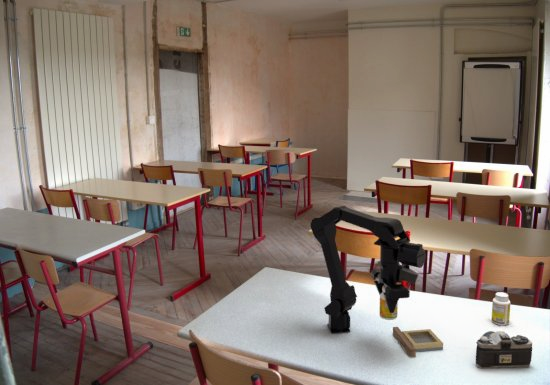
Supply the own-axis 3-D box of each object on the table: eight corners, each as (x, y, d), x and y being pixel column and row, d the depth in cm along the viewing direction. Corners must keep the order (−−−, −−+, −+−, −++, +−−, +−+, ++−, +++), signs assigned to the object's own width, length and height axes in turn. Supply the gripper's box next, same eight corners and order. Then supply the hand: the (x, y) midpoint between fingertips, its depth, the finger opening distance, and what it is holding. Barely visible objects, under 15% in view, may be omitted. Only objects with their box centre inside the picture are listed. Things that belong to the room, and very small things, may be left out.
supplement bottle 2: (503, 318, 172) (505, 290, 170) (512, 325, 167) (514, 297, 165) (488, 319, 172) (489, 291, 170) (496, 326, 166) (498, 298, 164)
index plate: (413, 352, 151) (413, 345, 150) (401, 337, 160) (402, 331, 159) (442, 349, 152) (443, 343, 151) (429, 335, 161) (430, 329, 160)
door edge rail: (410, 357, 148) (410, 349, 147) (392, 334, 162) (392, 327, 162) (415, 356, 148) (415, 349, 147) (397, 333, 162) (397, 326, 162)
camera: (515, 350, 150) (518, 320, 149) (533, 369, 140) (536, 336, 138) (464, 352, 150) (466, 321, 148) (479, 370, 140) (481, 338, 138)
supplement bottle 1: (378, 312, 155) (379, 283, 154) (396, 313, 155) (396, 284, 153) (380, 320, 150) (380, 290, 148) (398, 320, 149) (399, 290, 148)
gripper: (427, 269, 141) (425, 320, 144) (404, 250, 159) (402, 295, 162) (390, 271, 140) (388, 322, 142) (370, 251, 158) (369, 297, 161)
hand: (388, 308), depth 152 cm, fingers closed on supplement bottle 1, 5 cm apart
